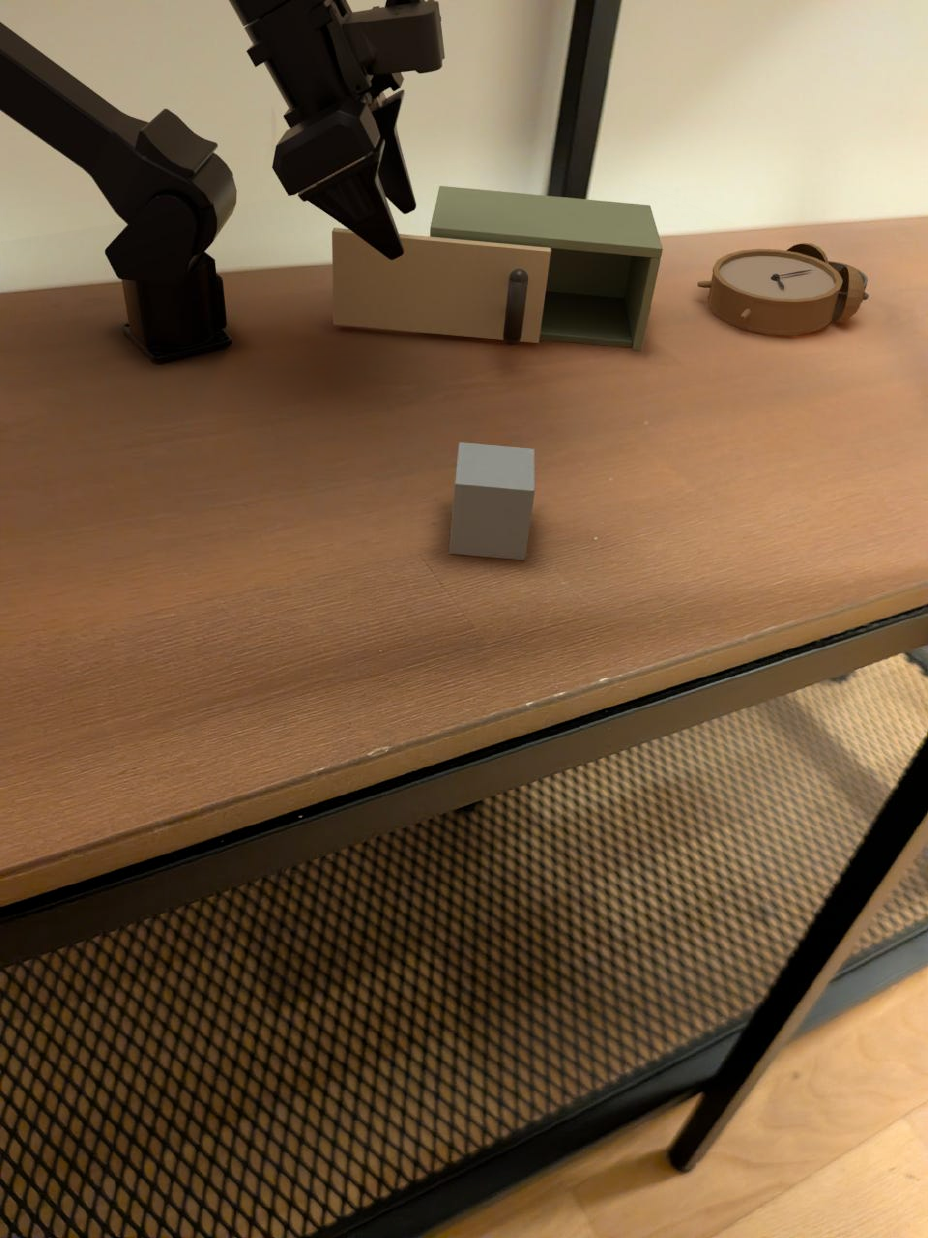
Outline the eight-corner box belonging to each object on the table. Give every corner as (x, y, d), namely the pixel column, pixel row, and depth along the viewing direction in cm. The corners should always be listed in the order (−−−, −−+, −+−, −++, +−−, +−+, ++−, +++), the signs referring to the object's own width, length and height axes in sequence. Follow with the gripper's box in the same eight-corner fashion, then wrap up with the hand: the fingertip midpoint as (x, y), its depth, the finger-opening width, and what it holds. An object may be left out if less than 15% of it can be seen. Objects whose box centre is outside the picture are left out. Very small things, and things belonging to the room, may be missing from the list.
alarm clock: (686, 259, 87) (826, 220, 90) (682, 310, 91) (817, 271, 94) (756, 311, 80) (907, 266, 83) (749, 364, 83) (894, 319, 86)
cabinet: (425, 331, 79) (430, 226, 73) (433, 283, 86) (439, 185, 81) (641, 351, 79) (663, 248, 74) (631, 301, 87) (650, 204, 81)
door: (323, 351, 74) (321, 254, 69) (334, 320, 78) (333, 226, 73) (539, 371, 74) (552, 275, 69) (538, 338, 79) (550, 246, 74)
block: (524, 560, 57) (534, 490, 53) (449, 554, 57) (454, 483, 53) (524, 516, 60) (534, 448, 57) (453, 510, 60) (459, 441, 57)
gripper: (376, -48, 50) (504, 228, 59) (409, -85, 64) (508, 142, 73) (204, 60, 53) (349, 304, 62) (272, 2, 67) (382, 208, 76)
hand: (404, 232), depth 68 cm, fingers open, 9 cm apart
